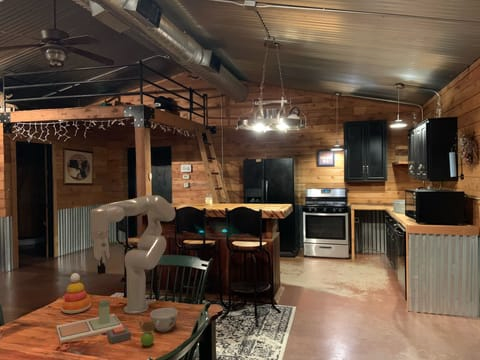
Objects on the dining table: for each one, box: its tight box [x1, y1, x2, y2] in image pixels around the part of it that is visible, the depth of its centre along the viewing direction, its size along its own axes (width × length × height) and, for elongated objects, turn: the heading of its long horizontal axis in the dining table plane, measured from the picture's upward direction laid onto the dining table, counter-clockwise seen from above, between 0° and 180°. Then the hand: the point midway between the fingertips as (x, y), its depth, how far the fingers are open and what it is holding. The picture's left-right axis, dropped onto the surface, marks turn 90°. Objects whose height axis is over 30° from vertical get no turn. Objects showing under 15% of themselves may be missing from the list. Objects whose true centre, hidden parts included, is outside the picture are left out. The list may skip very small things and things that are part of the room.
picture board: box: [56, 313, 123, 344], centre depth 164 cm, size 26×18×1 cm
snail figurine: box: [138, 316, 155, 347], centre depth 147 cm, size 5×6×12 cm
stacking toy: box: [60, 272, 92, 315], centre depth 187 cm, size 14×14×20 cm
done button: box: [113, 325, 125, 335], centre depth 154 cm, size 4×4×3 cm
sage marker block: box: [98, 299, 110, 325], centre depth 168 cm, size 4×4×10 cm
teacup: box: [149, 307, 179, 332], centre depth 161 cm, size 15×12×8 cm
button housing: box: [106, 325, 132, 345], centre depth 154 cm, size 8×8×3 cm
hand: (101, 273), depth 165 cm, fingers closed
